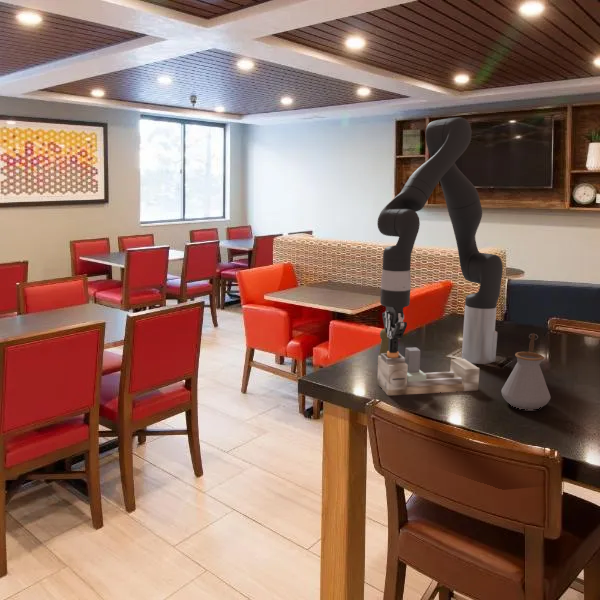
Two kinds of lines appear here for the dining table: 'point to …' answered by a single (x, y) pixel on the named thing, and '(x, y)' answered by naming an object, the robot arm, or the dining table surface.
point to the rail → (396, 383)
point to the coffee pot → (527, 381)
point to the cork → (383, 342)
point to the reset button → (392, 355)
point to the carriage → (414, 365)
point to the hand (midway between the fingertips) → (392, 351)
